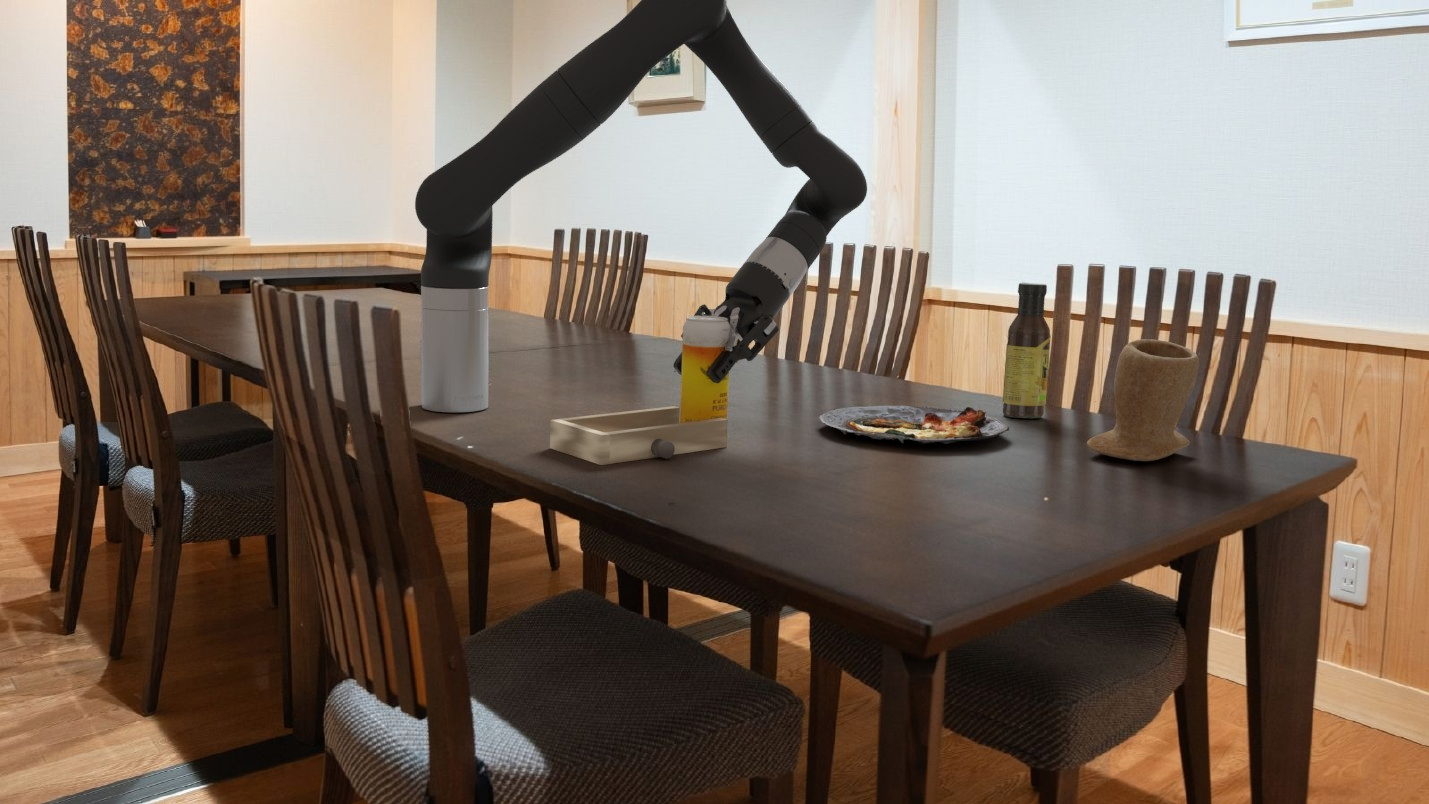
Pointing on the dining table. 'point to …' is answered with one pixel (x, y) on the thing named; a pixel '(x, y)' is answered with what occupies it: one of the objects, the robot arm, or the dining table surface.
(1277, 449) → the dining table surface
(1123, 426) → the stone cup
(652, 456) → the wooden stick frame
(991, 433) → the food plate
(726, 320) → the beer can
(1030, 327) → the sauce bottle
